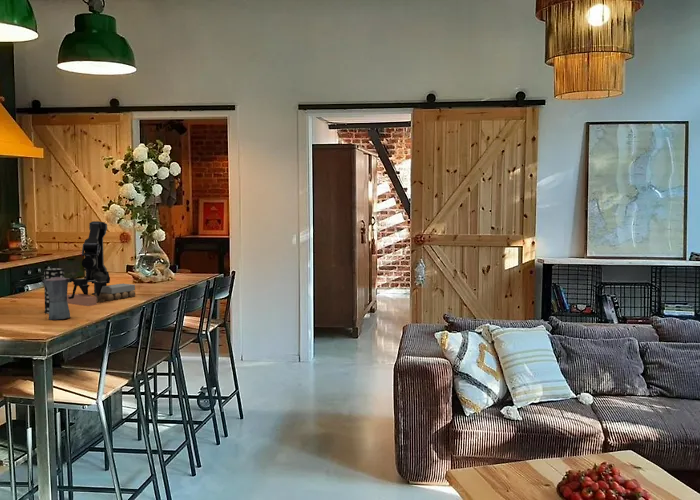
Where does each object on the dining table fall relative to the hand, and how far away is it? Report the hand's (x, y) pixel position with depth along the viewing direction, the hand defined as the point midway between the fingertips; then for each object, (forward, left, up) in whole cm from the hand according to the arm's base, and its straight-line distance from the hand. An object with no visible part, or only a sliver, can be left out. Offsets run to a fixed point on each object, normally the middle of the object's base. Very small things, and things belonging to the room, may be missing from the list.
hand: (92, 296), depth 334 cm
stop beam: (0, -7, -3) cm, 8 cm away
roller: (0, -1, -3) cm, 3 cm away
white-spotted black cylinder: (+9, -30, -3) cm, 31 cm away
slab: (0, +16, +1) cm, 16 cm away
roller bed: (0, +10, -3) cm, 11 cm away
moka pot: (+24, -39, -3) cm, 46 cm away
